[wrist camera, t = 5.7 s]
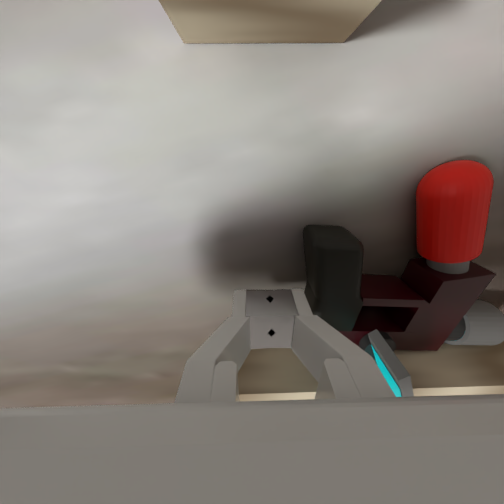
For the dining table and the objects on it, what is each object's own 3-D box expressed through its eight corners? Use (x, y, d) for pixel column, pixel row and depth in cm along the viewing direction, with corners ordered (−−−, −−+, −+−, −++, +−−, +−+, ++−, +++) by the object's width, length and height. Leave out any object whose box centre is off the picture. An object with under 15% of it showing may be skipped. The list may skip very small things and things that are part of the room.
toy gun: (460, 326, 13) (564, 412, 9) (282, 321, 12) (301, 412, 8) (583, 168, 9) (921, 188, 4) (313, 150, 8) (392, 151, 4)
